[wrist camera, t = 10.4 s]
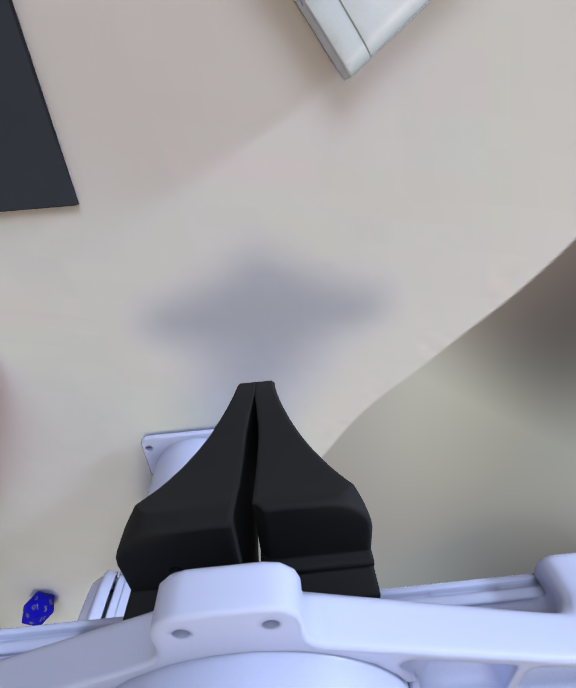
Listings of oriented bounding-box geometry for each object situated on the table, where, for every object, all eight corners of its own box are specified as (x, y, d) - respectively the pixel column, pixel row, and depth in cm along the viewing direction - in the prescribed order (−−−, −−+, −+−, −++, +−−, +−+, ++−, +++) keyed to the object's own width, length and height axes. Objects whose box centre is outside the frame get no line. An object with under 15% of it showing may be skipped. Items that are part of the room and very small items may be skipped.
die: (56, 585, 38) (57, 620, 37) (52, 587, 40) (53, 620, 38) (23, 596, 36) (23, 633, 35) (20, 597, 38) (20, 633, 37)
